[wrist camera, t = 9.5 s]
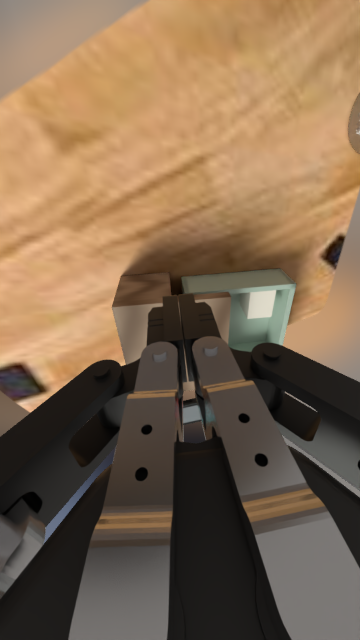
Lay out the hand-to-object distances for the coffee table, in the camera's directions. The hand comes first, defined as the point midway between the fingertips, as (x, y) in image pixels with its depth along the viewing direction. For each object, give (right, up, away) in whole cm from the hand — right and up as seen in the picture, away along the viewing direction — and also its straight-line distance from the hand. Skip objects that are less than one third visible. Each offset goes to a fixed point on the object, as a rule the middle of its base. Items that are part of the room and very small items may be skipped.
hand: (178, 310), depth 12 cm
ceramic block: (+11, +3, +29) cm, 31 cm away
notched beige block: (-1, 0, +34) cm, 34 cm away
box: (+9, +1, +35) cm, 36 cm away
